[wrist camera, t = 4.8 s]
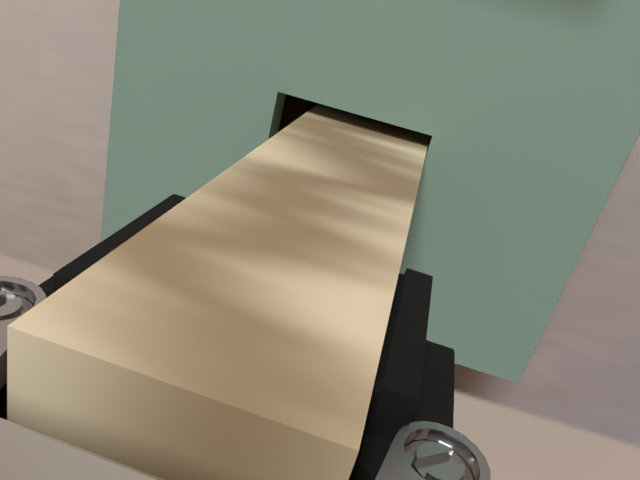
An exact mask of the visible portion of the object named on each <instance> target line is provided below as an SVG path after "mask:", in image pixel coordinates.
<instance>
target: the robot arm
mask: <svg viewBox="0 0 640 480" xmlns="http://www.w3.org/2000/svg"><path fill="white" fill-rule="evenodd" d="M184 199H186V197H183V196H180V195H176V194H173V195H171V196H169V197H168V198H166V199H165V200H163V201H162V202H160V203H159V204H157V205H156V206H154V207H153V208H151V209H150V210H148V211H147V212H145V213H144V214H142V215H141V216H139V217H138V218H136V219H135V220H133V221H132V222H130V223H129V224H127V225H126V226H124V227H123V228H121V229H120V230H118V231H117V232H115V233H114V234H112V235H111V236H109V237H108V238H106V239H105V240H103V241H102V242H100V243H99V244H97V245H96V246H94V247H93V248H91V249H90V250H88V251H87V252H85V253H84V254H82V255H81V256H79V257H78V258H76V259H75V260H73V261H72V262H70V263H69V264H67V265H66V266H64V267H63V268H61V269H60V270H58V271H57V272H55V273H54V274H53V276H52V277H51V278H49V279H48V280H46V281H45V282H43V283H42V284H40V285H39V286H37V285H36V284H34V283H32V282H30V281H27V280H24V279H21V278H15V277H8V276H0V480H164V479H161V478H159V477H156V476H154V475H151V474H148V473H146V472H143V471H140V470H138V469H135V468H132V467H130V466H127V465H125V464H122V463H119V462H117V461H114V460H111V459H109V458H106V457H103V456H101V455H98V454H96V453H93V452H90V451H88V450H85V449H82V448H80V447H77V446H74V445H72V444H69V443H66V442H64V441H61V440H58V439H56V438H53V437H51V436H48V435H45V434H43V433H40V432H37V431H35V430H32V429H29V428H27V427H24V426H21V425H19V424H16V423H13V422H11V421H8V420H7V326H8V325H9V324H11V323H12V322H14V321H15V320H16V319H18V318H19V317H21V316H22V315H23V314H25V313H26V312H28V311H29V310H30V309H32V308H33V307H35V306H36V305H37V304H39V303H40V302H42V301H43V300H44V299H46V298H47V297H49V296H50V295H51V294H53V293H54V292H56V291H57V290H58V289H60V288H61V287H63V286H64V285H65V284H67V283H68V282H70V281H71V280H72V279H74V278H75V277H77V276H78V275H79V274H81V273H82V272H84V271H85V270H86V269H88V268H89V267H91V266H92V265H93V264H95V263H96V262H98V261H99V260H100V259H102V258H103V257H105V256H106V255H107V254H109V253H110V252H112V251H113V250H114V249H116V248H117V247H119V246H120V245H121V244H123V243H124V242H126V241H127V240H128V239H130V238H131V237H133V236H134V235H135V234H137V233H138V232H140V231H141V230H142V229H144V228H145V227H147V226H148V225H149V224H151V223H152V222H154V221H155V220H156V219H158V218H159V217H161V216H162V215H163V214H165V213H166V212H168V211H169V210H170V209H172V208H173V207H175V206H176V205H177V204H179V203H180V202H182V201H183V200H184ZM432 281H433V276H431V275H428V274H424V273H421V272H418V271H415V270H412V269H409V268H406V271H405V273H404V274H401V273H399V275H398V280H397V284H396V289H395V293H394V298H393V302H392V306H391V311H390V315H389V320H388V324H387V329H386V333H385V337H384V342H383V346H382V351H381V355H380V360H379V364H378V369H377V373H376V377H375V382H374V386H373V391H372V395H371V400H370V404H369V408H368V413H367V417H366V422H365V426H364V431H363V435H362V440H361V444H360V448H359V452H358V455H357V458H356V461H355V463H354V466H353V469H352V472H351V474H350V477H349V480H490V468H489V466H488V463H487V461H486V458H485V457H484V455H483V454H482V453H481V451H480V450H479V449H478V447H477V446H476V445H475V444H474V443H472V442H471V441H470V440H469V439H468V438H467V437H466V436H464V435H462V434H461V433H459V432H457V431H456V430H454V429H453V410H454V408H453V407H454V364H455V352H454V349H452V348H449V347H446V346H443V345H440V344H437V343H434V342H431V341H428V340H426V337H427V328H428V318H429V309H430V300H431V290H432Z"/></svg>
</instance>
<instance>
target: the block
mask: <svg viewBox="0 0 640 480" xmlns="http://www.w3.org/2000/svg"><path fill="white" fill-rule="evenodd" d="M429 138H430V135H427V134H424V133H420V132H417V131H413V130H410V129H406V128H403V127H399V126H396V125H392V124H389V123H385V122H382V121H378V120H375V119H371V118H368V117H364V116H361V115H357V114H354V113H350V112H347V111H343V110H340V109H336V108H333V107H329V106H326V105H323V104H317V105H316V106H315V107H313V108H312V109H310V110H309V111H308V112H306V113H305V114H303V115H302V116H301V117H299V118H298V119H296V120H295V121H294V122H292V123H291V124H289V125H288V126H287V127H285V128H284V129H282V130H281V131H280V132H278V133H277V134H275V135H274V136H273V137H271V138H270V139H268V140H267V141H266V142H264V143H263V144H261V145H260V146H259V147H257V148H256V149H254V150H253V151H252V152H250V153H249V154H247V155H246V156H245V157H243V158H242V159H240V160H239V161H238V162H236V163H235V164H233V165H232V166H231V167H229V168H228V169H226V170H225V171H224V172H222V173H221V174H219V175H218V176H217V177H215V178H214V179H212V180H211V181H210V182H208V183H207V184H205V185H204V186H203V187H201V188H200V189H198V190H197V191H196V192H194V193H193V194H191V195H190V196H189V197H187V198H186V199H184V200H183V201H182V202H180V203H179V204H177V205H176V206H175V207H173V208H172V209H170V210H169V211H168V212H166V213H165V214H163V215H162V216H161V217H159V218H158V219H156V220H155V221H154V222H152V223H151V224H149V225H148V226H147V227H145V228H144V229H142V230H141V231H140V232H138V233H137V234H135V235H134V236H133V237H131V238H130V239H128V240H127V241H126V242H124V243H123V244H121V245H120V246H119V247H117V248H116V249H114V250H113V251H112V252H110V253H109V254H107V255H106V256H105V257H103V258H102V259H100V260H99V261H98V262H96V263H95V264H93V265H92V266H91V267H89V268H88V269H86V270H85V271H84V272H82V273H81V274H79V275H78V276H77V277H75V278H74V279H72V280H71V281H70V282H68V283H67V284H65V285H64V286H63V287H61V288H60V289H58V290H57V291H56V292H54V293H53V294H51V295H50V296H49V297H47V298H46V299H44V300H43V301H42V302H40V303H39V304H37V305H36V306H35V307H33V308H32V309H30V310H29V311H28V312H26V313H25V314H23V315H22V316H21V317H19V318H18V319H16V320H15V321H14V322H12V323H11V324H9V325H8V326H7V420H8V421H11V422H13V423H16V424H19V425H21V426H24V427H27V428H29V429H32V430H35V431H37V432H40V433H43V434H45V435H48V436H51V437H53V438H56V439H58V440H61V441H64V442H66V443H69V444H72V445H74V446H77V447H80V448H82V449H85V450H88V451H90V452H93V453H96V454H98V455H101V456H103V457H106V458H109V459H111V460H114V461H117V462H119V463H122V464H125V465H127V466H130V467H132V468H135V469H138V470H140V471H143V472H146V473H148V474H151V475H154V476H156V477H159V478H161V479H164V480H349V477H350V474H351V472H352V469H353V466H354V463H355V461H356V458H357V455H358V452H359V448H360V444H361V440H362V435H363V431H364V426H365V422H366V417H367V413H368V408H369V404H370V400H371V395H372V391H373V386H374V382H375V377H376V373H377V369H378V364H379V360H380V355H381V351H382V346H383V342H384V337H385V333H386V329H387V324H388V320H389V315H390V311H391V306H392V302H393V298H394V293H395V289H396V284H397V280H398V275H399V271H400V266H401V262H402V258H403V253H404V249H405V244H406V240H407V235H408V231H409V227H410V222H411V218H412V213H413V209H414V204H415V200H416V195H417V191H418V187H419V182H420V178H421V173H422V169H423V164H424V160H425V156H426V151H427V147H428V142H429Z"/></svg>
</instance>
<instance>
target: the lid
mask: <svg viewBox="0 0 640 480" xmlns="http://www.w3.org/2000/svg"><path fill="white" fill-rule="evenodd" d="M286 94H288V95H291V96H295V97H298V98H302V99H305V100H309V101H312V102H316V103H319V104H323V105H326V106H329V107H333V108H336V109H340V110H343V111H347V112H350V113H354V114H357V115H361V116H364V117H368V118H371V119H375V120H378V121H382V122H385V123H389V124H392V125H396V126H399V127H403V128H406V129H410V130H413V131H417V132H420V133H424V134H427V135H431V138H430V141H429V144H428V147H427V151H426V156H425V160H424V164H423V169H422V173H421V178H420V182H419V187H418V191H417V195H416V200H415V204H414V209H413V213H412V218H411V222H410V227H409V231H408V235H407V240H406V244H405V249H404V253H403V258H402V262H401V266H400V271H399V273H401V274H404V273H405V271H406V268H409V269H412V270H415V271H418V272H421V273H424V274H428V275H431V276H433V281H432V290H431V300H430V309H429V318H428V328H427V337H426V340H428V341H431V342H434V343H437V344H440V345H443V346H446V347H449V348H452V349H454V352H455V364H458V365H462V366H465V367H468V368H471V369H474V370H477V371H480V372H483V373H486V374H489V375H492V376H495V377H499V378H502V379H505V380H508V381H511V382H514V383H517V384H518V382H519V380H520V378H521V376H522V374H523V372H524V370H525V367H526V365H527V363H528V361H529V359H530V357H531V355H532V353H533V351H534V349H535V347H536V345H537V343H538V341H539V339H540V337H541V335H542V333H543V330H544V328H545V326H546V324H547V322H548V320H549V318H550V316H551V314H552V312H553V310H554V308H555V306H556V304H557V302H558V300H559V298H560V296H561V293H562V291H563V289H564V287H565V285H566V283H567V281H568V279H569V277H570V275H571V273H572V271H573V269H574V267H575V265H576V263H577V261H578V259H579V256H580V254H581V252H582V250H583V248H584V246H585V244H586V242H587V240H588V238H589V236H590V234H591V232H592V230H593V228H594V226H595V224H596V222H597V219H598V217H599V215H600V213H601V211H602V209H603V207H604V205H605V203H606V201H607V199H608V197H609V195H610V193H611V191H612V189H613V187H614V185H615V182H616V180H617V178H618V176H619V174H620V172H621V170H622V168H623V166H624V164H625V162H626V160H627V158H628V156H629V154H630V152H631V150H632V148H633V145H634V143H635V141H636V139H637V137H638V135H639V133H640V0H120V8H119V20H118V33H117V45H116V58H115V70H114V83H113V95H112V108H111V120H110V133H109V145H108V157H107V170H106V182H105V195H104V207H103V220H102V232H101V242H102V241H103V240H105V239H106V238H108V237H109V236H111V235H112V234H114V233H115V232H117V231H118V230H120V229H121V228H123V227H124V226H126V225H127V224H129V223H130V222H132V221H133V220H135V219H136V218H138V217H139V216H141V215H142V214H144V213H145V212H147V211H148V210H150V209H151V208H153V207H154V206H156V205H157V204H159V203H160V202H162V201H163V200H165V199H166V198H168V197H169V196H171V195H173V194H176V195H180V196H183V197H186V198H187V197H189V196H190V195H191V194H193V193H194V192H196V191H197V190H198V189H200V188H201V187H203V186H204V185H205V184H207V183H208V182H210V181H211V180H212V179H214V178H215V177H217V176H218V175H219V174H221V173H222V172H224V171H225V170H226V169H228V168H229V167H231V166H232V165H233V164H235V163H236V162H238V161H239V160H240V159H242V158H243V157H245V156H246V155H247V154H249V153H250V152H252V151H253V150H254V149H256V148H257V147H259V146H260V145H261V144H263V143H264V142H266V141H267V140H268V139H270V138H271V137H273V136H274V135H275V134H277V133H278V130H279V125H280V120H281V116H282V111H283V106H284V101H285V97H286Z"/></svg>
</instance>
